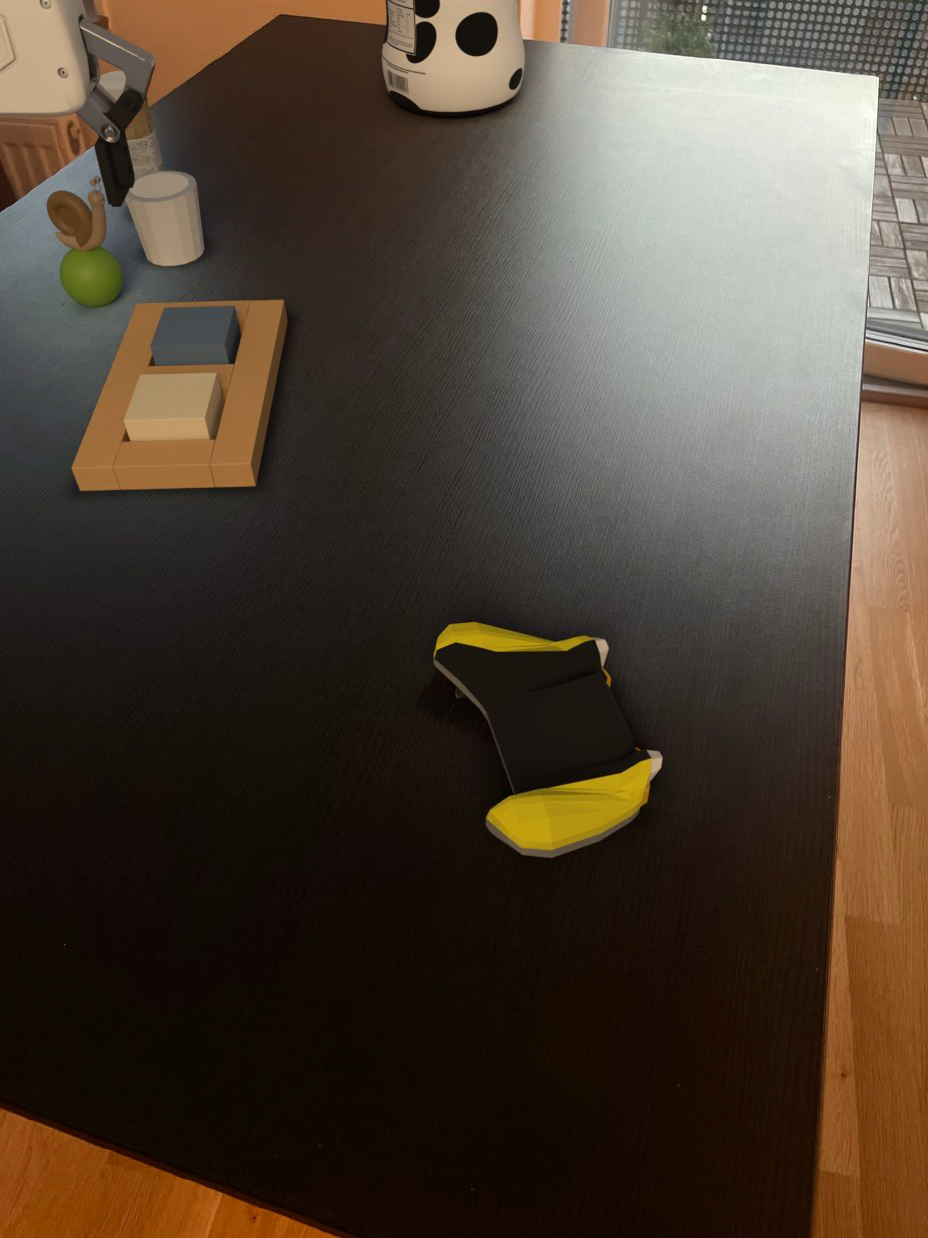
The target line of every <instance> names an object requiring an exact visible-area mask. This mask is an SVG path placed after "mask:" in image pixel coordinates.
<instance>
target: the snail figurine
mask: <svg viewBox="0 0 928 1238" xmlns="http://www.w3.org/2000/svg"><path fill="white" fill-rule="evenodd" d="M101 182H102V177H100V176H99V175H95V176H94V178H91V179H90V180H89V185H90V186H92V187H93V188H94V189H92V190H90V191H89V192H88V194H87V200H88V203H89V204H90V207H91V208H90V207H89V206H88V204H87V203H86V202H85V201H84V200H83V199H82V198H81V197H80V196H79V195H77V194H75V193H73V192H71V191H68V190H65V189H64V190H63V189H59V190H56V191H53V192H52V193H51V194H49V196H48V198H47V201H46V211H47V215H48V218H49V220H50V221H51V222H52V224H53V226H54V227H55V228H56V229H57V230H58V231H55V232H54V235H55V237H56V239H58V240H59V241H60V243H62V244H63V245H64V246H66V248H69V250H68V251H67V252H66V253H65V254H64V256H63V257H62V259H61V261H60V265H59V279H60V283H61V285H62V287H63V289H64V291H65V292H66V294H67V295H68V296H69V297H70V298H71V299H72V300H73V301H75V302H77V303H78V304H80V305H82V306H86V307H89V308H100V307H105V306H107V305H109V304H111V303H112V302H114V301H115V300H116V299H117V298H118V297H119V295H120V294H121V292H122V290H123V286H124V273H123V269H122V266H121V263H120V262H119V261H118V259H117V257H116V256H115V255H114V254H113V253H112V252H111V251H109V250H108V249H106V248H105V247H102V245H103V244H104V242H105V241H106V237H107V231H108V230H107V229H108V227H107V224H108V223H107V213H106V208H105V204H106V197H105V195H104V194H103V192H102V187H101ZM97 184H98V186H99V190H98V189H97V188H96V186H97Z"/></svg>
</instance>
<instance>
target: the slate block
mask: <svg viewBox="0 0 928 1238" xmlns="http://www.w3.org/2000/svg"><path fill="white" fill-rule="evenodd" d="M240 340H241V333H240V329H239V324H238V319H237V314H236V309H235V306H205V307H168V308H164V309H163V312H162V315H161V317H160V320H159V323H158V326H157V329H156V331H155V334H154V337H153V340H152V342H151V345H150V348H151V351H152V355H153V358H154V362H155V365H156V366H180V365H217V364H234V365H235V361H236V357H237V353H238V349H239V344H240Z"/></svg>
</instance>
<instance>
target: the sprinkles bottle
mask: <svg viewBox="0 0 928 1238" xmlns="http://www.w3.org/2000/svg"><path fill="white" fill-rule="evenodd" d="M125 82H126V76H125V74H124V72H123V71H122V70H120V69H119V70H113V71H109V72H106V73H103V74H100V81H99V84H100V85H101V86H102V87H103V88H104V89H105V90H106V91H107V92H108V93H109V94H111V95H112V96H113V97H114V98H115V99H116V100H118V98H119V97H120V96H121V94H122V93H123V91H124V87H125ZM148 95H149V94H148V92H147V95H146V99H145V102H144V103H143V105H142V107H141V109H140V111H139V112H138V114H137V115H136V116H135V118H134V119H133V120H132V122H131V123H130V124H129V126H128V127H127V128H126V130H125V134H126V138H127V143H128V147H129V151H130V156H131V160H132V165H133V169H134V175H135V177H137V176H140V175H143V174H146V173H151V172H156V171H166V170H165V166H164V162H163V157H162V153H161V149H160V144H159V141H158V137H157V132H156V128H155V127H154V123H153V118H152V114H151V111H150V107H149V98H148Z"/></svg>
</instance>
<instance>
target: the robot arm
mask: <svg viewBox="0 0 928 1238" xmlns="http://www.w3.org/2000/svg"><path fill="white" fill-rule="evenodd" d="M99 60H101V61H103V62H105V63H107V64H109V65H111V66H114V67H115V68H117V69H119V70H122V71H123V72H124V74H125V76H126V82H125V87H124V91H123V93H122V94H121V96H120V97H119V98H118V100H116V99H115V98H114V97H113V96H112V95H111V94H109V93H108V92H107V91H106V90H105V89H104V88H103V87H102V86H101V85H100V84H99V81H100V76H101V68H100V67H101V66H100V62H99ZM156 63H157V62H156V58H155V56H154V55H153V54H152V53H151V52H150V51H148V50H145V48H141V47H139V46H138V45H136V44H134V43H133V42H131V41H128V40H126V39H124V38H123V37H121V36H119V35H117V34H115V33H112V32H111V31H109V30H108V29H105V28H103V27H101V26H99V25H97V24H95V23H93V22H91V21H90V20H89V19H88V15H87V12H86V9H85V5H84V1H83V0H0V117H33V118H34V117H36V118H38V117H39V118H41V117H43V118H45V117H64V116H65V117H66V116H70V115H74V114H76V115H77V116H78V117H79V118H80V119H81V120H82V121H83V122H84V123H85V124H87V126H89V128H91V130H93V132H95V133H96V134H97V136H98V137H97V140H96V141H95V143H94V152H95V157H96V161H97V165H98V168H99V173H100V176H101V177H100V178H101V182H102V186H103V189H104V193H105V196H106V197H105V198H106V200H107V204H108V205H110V206H111V207H112V208H122V206H123V204H124V202H125V201H126V200H125V198H126V196H127V193H128V191H129V189H130V188H133V186H134V183H135V175H134V169H133V165H132V160H131V156H130V151H129V147H128V143H127V138H126V134H125V130H126V128H127V127H128V126H129V124H130V123H131V122H132V120H133V119H134V118H135V116H136V115H137V114H138V112H139V111H140V109H141V107H142V105H143V103H144V102H145V99H146V95H147V93H148V91H149V88H150V85H151V81H152V78H153V75H154V71H155V68H156Z"/></svg>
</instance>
